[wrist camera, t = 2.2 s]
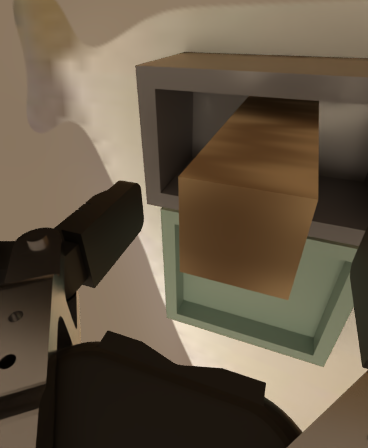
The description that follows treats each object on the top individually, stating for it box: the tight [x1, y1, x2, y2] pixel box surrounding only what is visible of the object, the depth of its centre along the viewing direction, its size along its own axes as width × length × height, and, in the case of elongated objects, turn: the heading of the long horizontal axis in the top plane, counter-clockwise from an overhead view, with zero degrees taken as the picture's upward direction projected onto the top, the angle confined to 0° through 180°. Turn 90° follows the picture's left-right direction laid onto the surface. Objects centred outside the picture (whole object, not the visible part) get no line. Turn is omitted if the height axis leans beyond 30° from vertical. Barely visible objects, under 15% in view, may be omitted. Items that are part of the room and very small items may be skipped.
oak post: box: [178, 96, 319, 300], centre depth 15 cm, size 4×4×13 cm
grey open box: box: [135, 52, 368, 246], centre depth 18 cm, size 14×8×7 cm, turn 90°
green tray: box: [161, 207, 359, 367], centre depth 27 cm, size 16×14×3 cm
